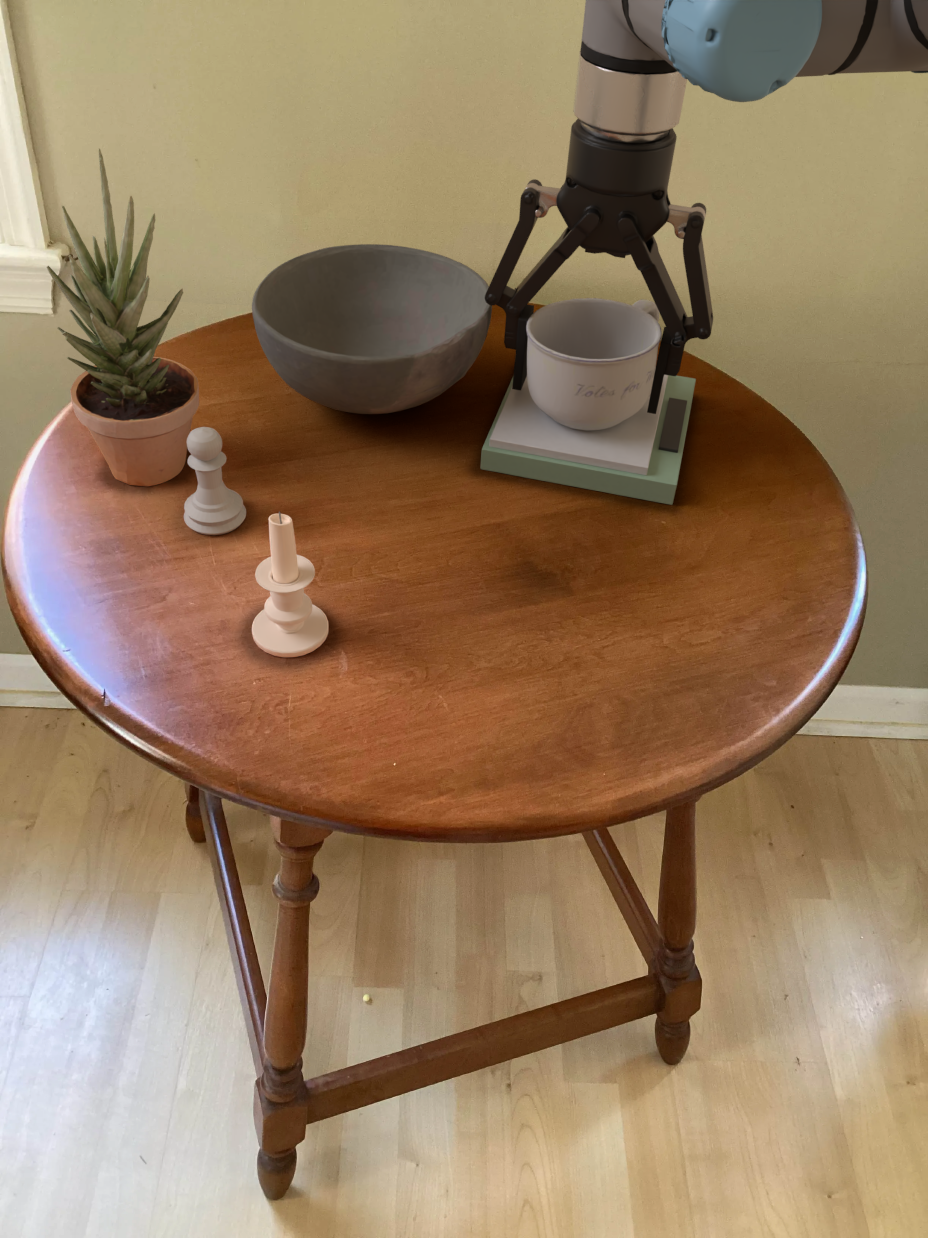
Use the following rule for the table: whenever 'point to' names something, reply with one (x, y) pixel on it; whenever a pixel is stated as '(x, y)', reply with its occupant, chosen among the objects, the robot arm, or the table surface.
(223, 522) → the chess piece
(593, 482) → the scale
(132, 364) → the potted plant
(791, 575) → the table surface
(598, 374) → the teacup
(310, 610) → the candle
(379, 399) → the bowl
